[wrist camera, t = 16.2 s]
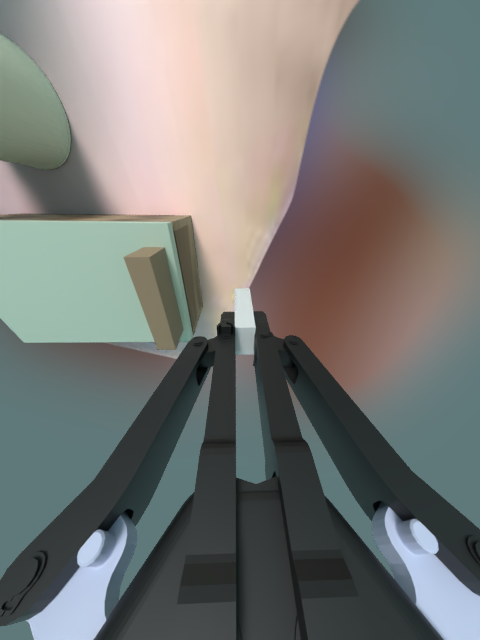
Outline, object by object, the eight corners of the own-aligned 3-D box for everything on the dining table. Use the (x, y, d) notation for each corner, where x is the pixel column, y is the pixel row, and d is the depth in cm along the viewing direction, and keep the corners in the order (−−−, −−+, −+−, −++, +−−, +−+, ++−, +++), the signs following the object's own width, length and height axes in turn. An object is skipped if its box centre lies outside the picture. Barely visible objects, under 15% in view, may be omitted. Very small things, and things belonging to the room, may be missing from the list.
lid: (32, 336, 23) (-7, 363, 20) (-73, 219, 15) (-176, 225, 12) (193, 335, 24) (185, 361, 20) (171, 221, 16) (151, 228, 12)
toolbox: (78, 306, 30) (35, 335, 24) (21, 213, 22) (-68, 218, 16) (202, 306, 31) (193, 334, 24) (190, 215, 23) (172, 221, 16)
